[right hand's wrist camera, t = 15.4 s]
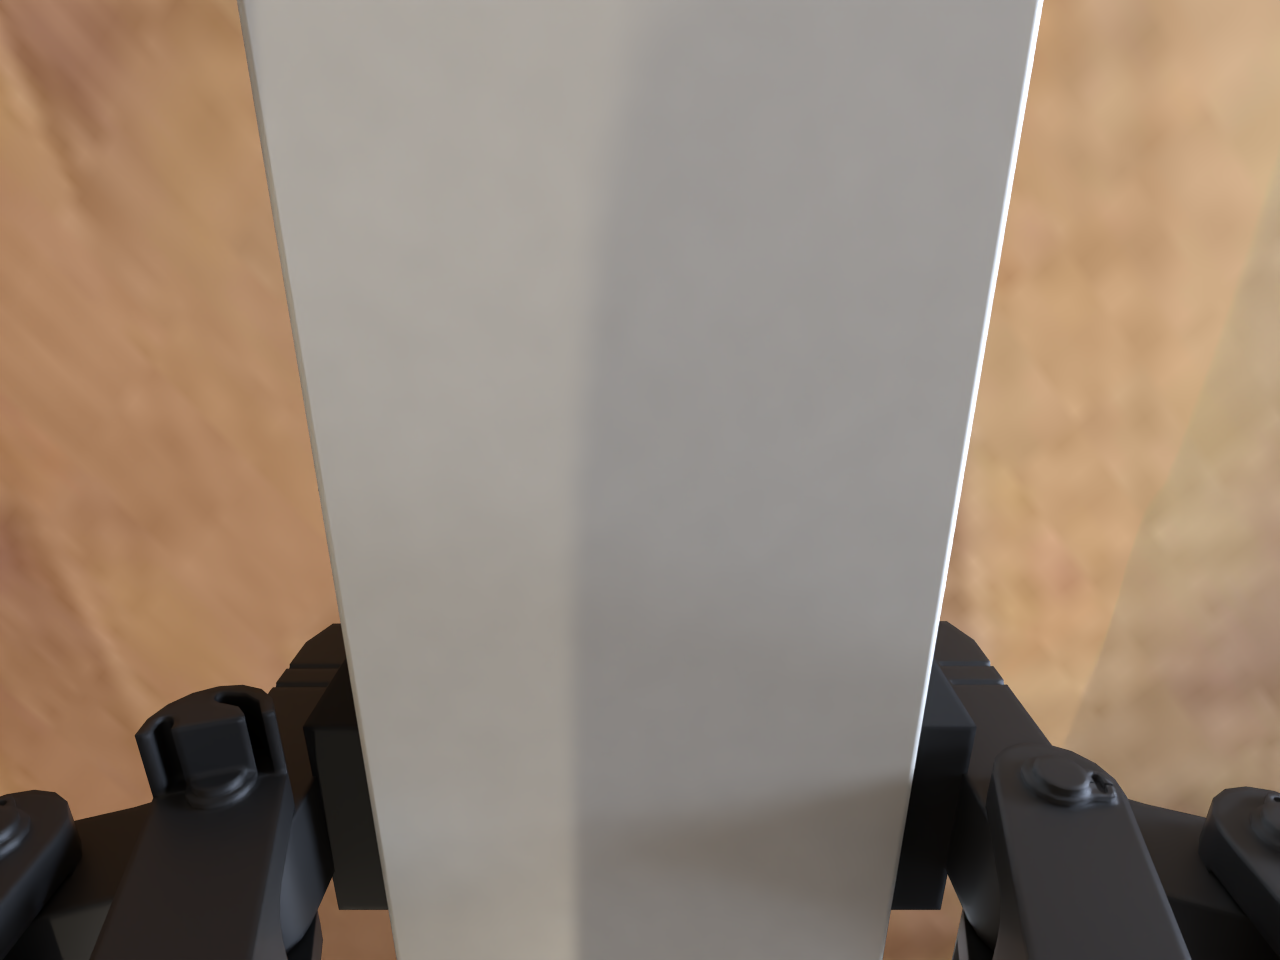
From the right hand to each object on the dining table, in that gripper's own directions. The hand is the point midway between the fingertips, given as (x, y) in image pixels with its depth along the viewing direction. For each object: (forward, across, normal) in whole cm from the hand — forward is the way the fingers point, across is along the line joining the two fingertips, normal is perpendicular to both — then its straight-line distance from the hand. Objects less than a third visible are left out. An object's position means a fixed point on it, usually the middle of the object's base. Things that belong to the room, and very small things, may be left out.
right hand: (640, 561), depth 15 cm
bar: (+1, 0, -36) cm, 36 cm away
